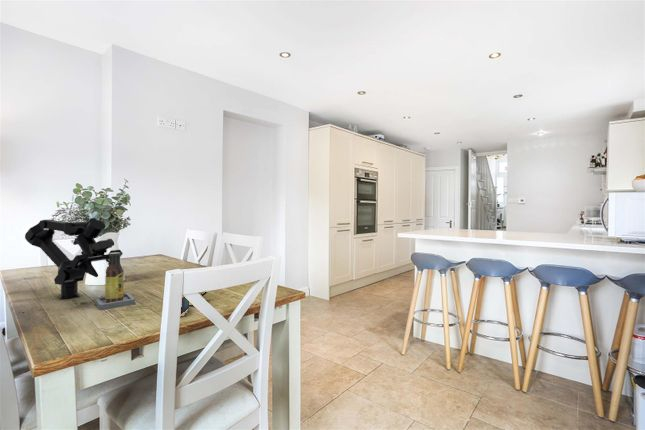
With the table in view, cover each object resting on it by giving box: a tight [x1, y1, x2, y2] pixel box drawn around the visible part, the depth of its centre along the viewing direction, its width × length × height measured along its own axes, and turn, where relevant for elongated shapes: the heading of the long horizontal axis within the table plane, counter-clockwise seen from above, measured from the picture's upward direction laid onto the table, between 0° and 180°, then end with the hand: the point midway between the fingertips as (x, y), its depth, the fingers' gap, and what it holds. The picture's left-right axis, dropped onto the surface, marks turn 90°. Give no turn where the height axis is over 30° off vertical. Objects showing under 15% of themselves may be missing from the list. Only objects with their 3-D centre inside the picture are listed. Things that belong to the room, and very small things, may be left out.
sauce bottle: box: [104, 252, 125, 303], centre depth 129 cm, size 7×6×20 cm
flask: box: [181, 297, 190, 314], centre depth 119 cm, size 9×3×11 cm, turn 8°
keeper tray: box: [94, 292, 136, 311], centre depth 129 cm, size 12×12×2 cm
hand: (108, 274), depth 130 cm, fingers open, 9 cm apart
